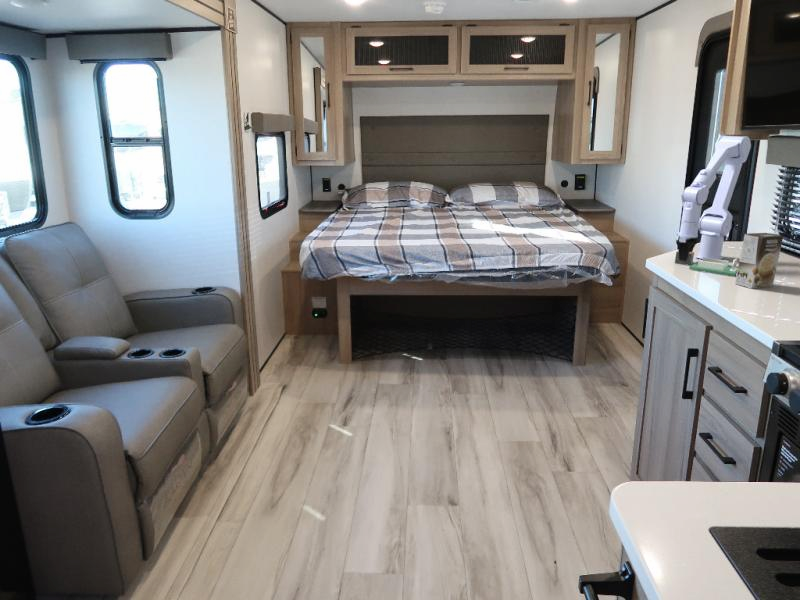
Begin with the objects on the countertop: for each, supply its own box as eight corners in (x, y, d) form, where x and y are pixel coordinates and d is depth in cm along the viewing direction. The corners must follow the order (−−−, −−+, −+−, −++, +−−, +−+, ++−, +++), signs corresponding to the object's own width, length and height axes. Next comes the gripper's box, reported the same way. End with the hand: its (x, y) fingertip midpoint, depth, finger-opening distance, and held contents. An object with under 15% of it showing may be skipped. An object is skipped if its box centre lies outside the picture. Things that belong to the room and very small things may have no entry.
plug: (677, 261, 222) (679, 250, 220) (692, 263, 219) (694, 252, 217) (674, 263, 219) (676, 251, 217) (689, 265, 216) (691, 254, 214)
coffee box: (752, 289, 187) (762, 237, 182) (734, 283, 192) (743, 233, 188) (773, 286, 190) (784, 235, 185) (755, 281, 196) (765, 232, 191)
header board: (697, 263, 218) (699, 251, 217) (741, 270, 210) (743, 257, 209) (689, 269, 209) (691, 256, 208) (734, 276, 201) (736, 263, 200)
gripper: (683, 217, 222) (678, 254, 226) (672, 222, 211) (666, 261, 215) (704, 220, 218) (698, 257, 222) (694, 225, 207) (688, 264, 211)
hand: (684, 259), depth 218 cm, fingers closed on plug, 4 cm apart
